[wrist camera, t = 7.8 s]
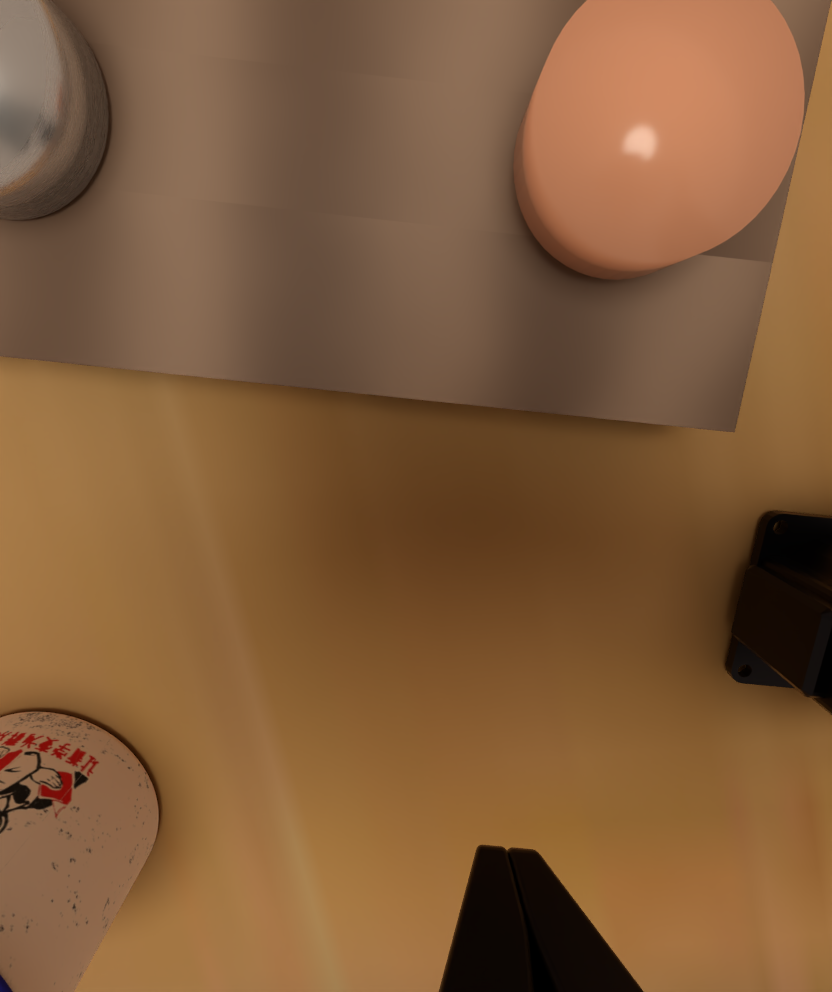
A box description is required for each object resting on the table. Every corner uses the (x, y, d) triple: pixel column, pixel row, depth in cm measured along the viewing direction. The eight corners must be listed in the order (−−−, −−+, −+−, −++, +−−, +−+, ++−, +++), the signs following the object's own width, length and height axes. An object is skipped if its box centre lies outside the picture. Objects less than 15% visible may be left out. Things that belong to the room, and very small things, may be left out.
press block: (751, 16, 17) (851, -90, 13) (671, 419, 20) (734, 432, 16) (-65, -81, 16) (-215, -221, 13) (-36, 346, 19) (-152, 340, 15)
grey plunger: (177, 77, 17) (40, -91, 11) (176, 260, 18) (49, 203, 12) (3, 57, 17) (-238, -125, 11) (12, 242, 18) (-201, 176, 12)
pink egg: (679, 123, 17) (835, -23, 10) (645, 308, 18) (768, 274, 12) (503, 103, 17) (556, -58, 10) (481, 290, 18) (516, 246, 12)
